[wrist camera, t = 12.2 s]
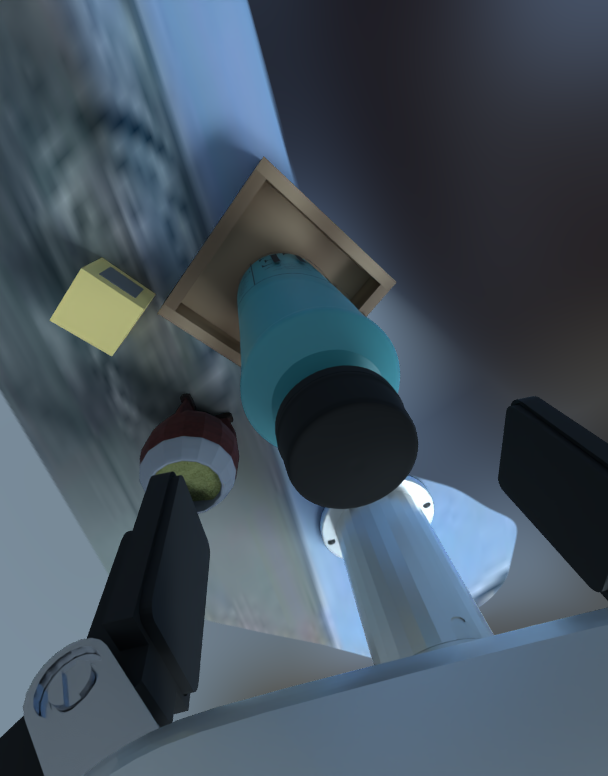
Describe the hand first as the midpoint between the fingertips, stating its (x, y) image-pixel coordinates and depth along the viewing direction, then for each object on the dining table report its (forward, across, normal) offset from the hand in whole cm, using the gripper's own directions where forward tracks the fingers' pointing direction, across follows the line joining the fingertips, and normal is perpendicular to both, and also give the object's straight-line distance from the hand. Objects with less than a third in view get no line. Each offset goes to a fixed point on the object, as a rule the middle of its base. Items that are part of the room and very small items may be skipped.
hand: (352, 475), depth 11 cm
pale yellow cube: (+20, +12, -2) cm, 24 cm away
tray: (+20, 0, -1) cm, 20 cm away
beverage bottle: (+20, 0, -1) cm, 20 cm away
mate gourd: (+21, +9, +10) cm, 25 cm away
